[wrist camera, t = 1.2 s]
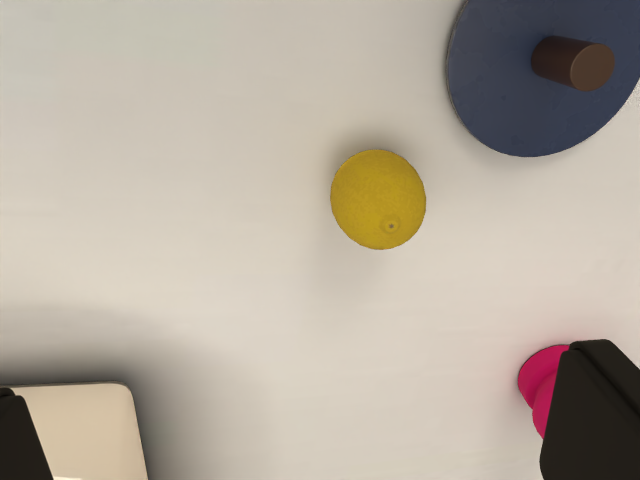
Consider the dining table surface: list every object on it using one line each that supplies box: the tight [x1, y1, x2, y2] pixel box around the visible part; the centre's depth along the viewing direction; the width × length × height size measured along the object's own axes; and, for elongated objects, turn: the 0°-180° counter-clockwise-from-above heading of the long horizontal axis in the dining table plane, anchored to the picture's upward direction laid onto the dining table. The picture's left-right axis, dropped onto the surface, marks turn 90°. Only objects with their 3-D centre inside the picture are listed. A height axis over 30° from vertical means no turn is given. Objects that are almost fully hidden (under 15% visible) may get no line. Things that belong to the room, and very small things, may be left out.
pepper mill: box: [518, 345, 569, 439], centre depth 35 cm, size 7×7×20 cm
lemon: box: [330, 150, 426, 250], centre depth 30 cm, size 6×6×8 cm
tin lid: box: [446, 0, 640, 157], centre depth 29 cm, size 12×12×6 cm
